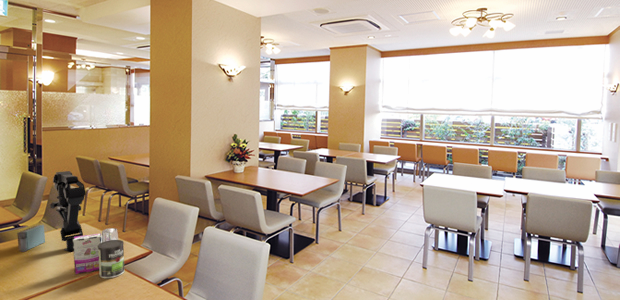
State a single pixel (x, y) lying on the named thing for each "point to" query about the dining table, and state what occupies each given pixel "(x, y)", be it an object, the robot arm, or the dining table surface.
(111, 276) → the coffee can
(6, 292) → the dining table surface
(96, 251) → the candy bar box
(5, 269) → the dining table surface
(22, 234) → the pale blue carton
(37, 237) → the hinge leaf
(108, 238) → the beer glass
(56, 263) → the dining table surface
